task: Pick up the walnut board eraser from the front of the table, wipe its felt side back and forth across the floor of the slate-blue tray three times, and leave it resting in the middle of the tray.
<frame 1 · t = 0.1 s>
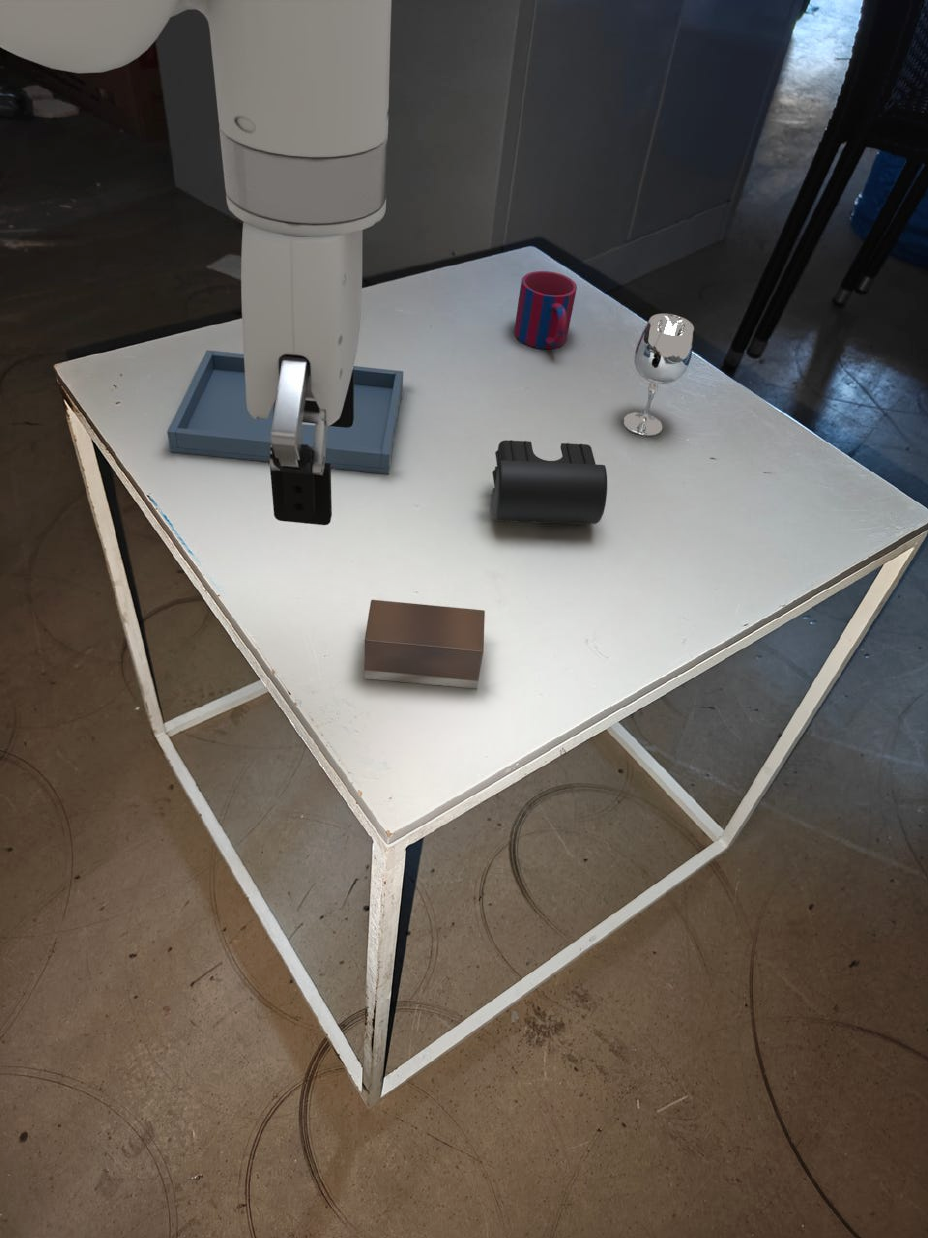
hand: (316, 468, 53), 20 cm above the table, tool pointing down, fingers open, 9 cm apart
wineglass: (642, 425, 97), on the table
eraser: (422, 662, 69), on the table
tray: (294, 418, 91), on the table
end cap: (539, 517, 84), on the table
mug: (542, 343, 107), on the table
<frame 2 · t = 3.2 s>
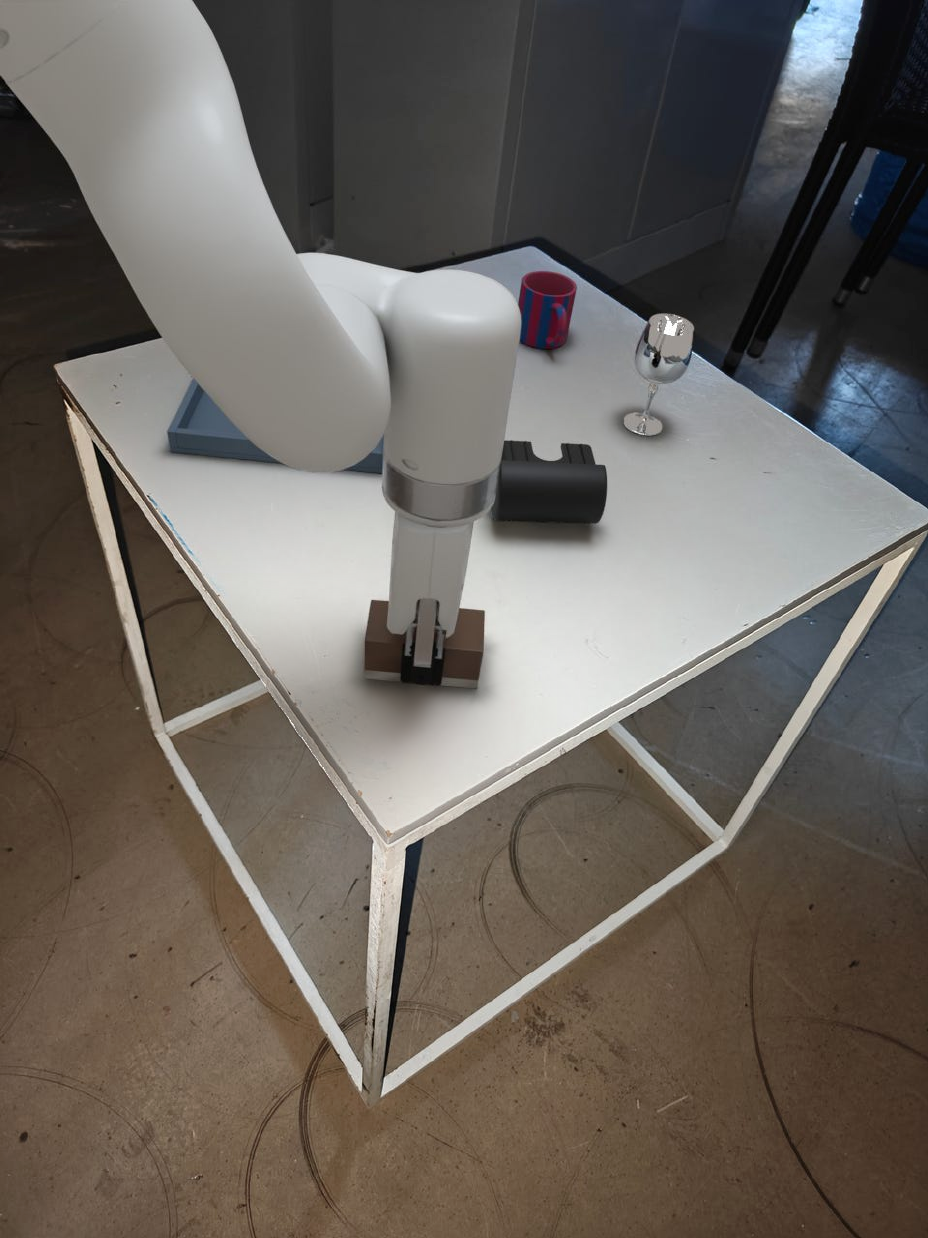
hand: (423, 655, 69), 1 cm above the table, tool pointing down, fingers closed on eraser, 4 cm apart
eraser: (422, 662, 69), on the table, touching gripper
everything else where it was.
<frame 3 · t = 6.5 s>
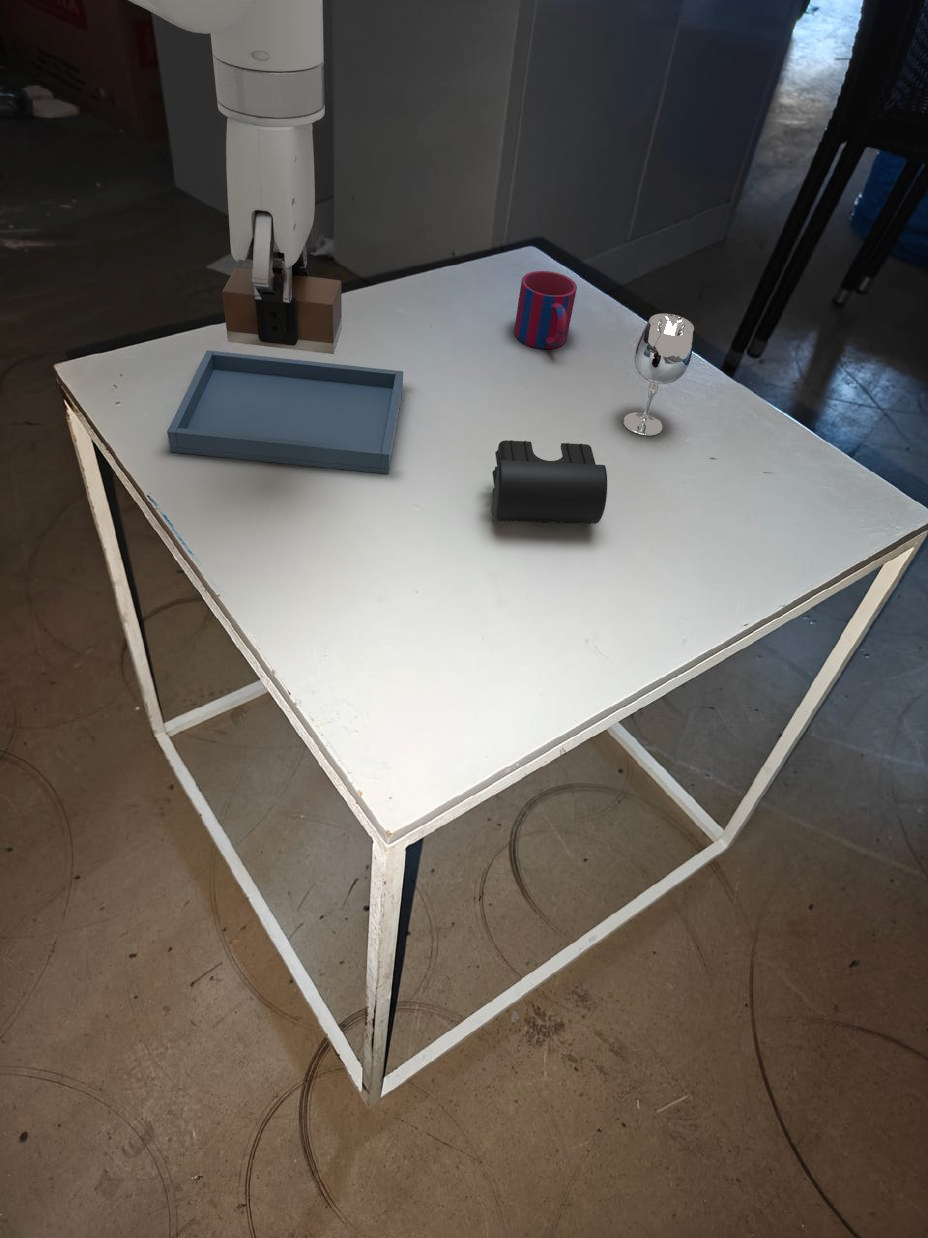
hand: (284, 324, 74), 15 cm above the table, tool pointing down, fingers closed on eraser, 4 cm apart
eraser: (286, 335, 74), point 14 cm above the table, touching gripper
everything else where it was.
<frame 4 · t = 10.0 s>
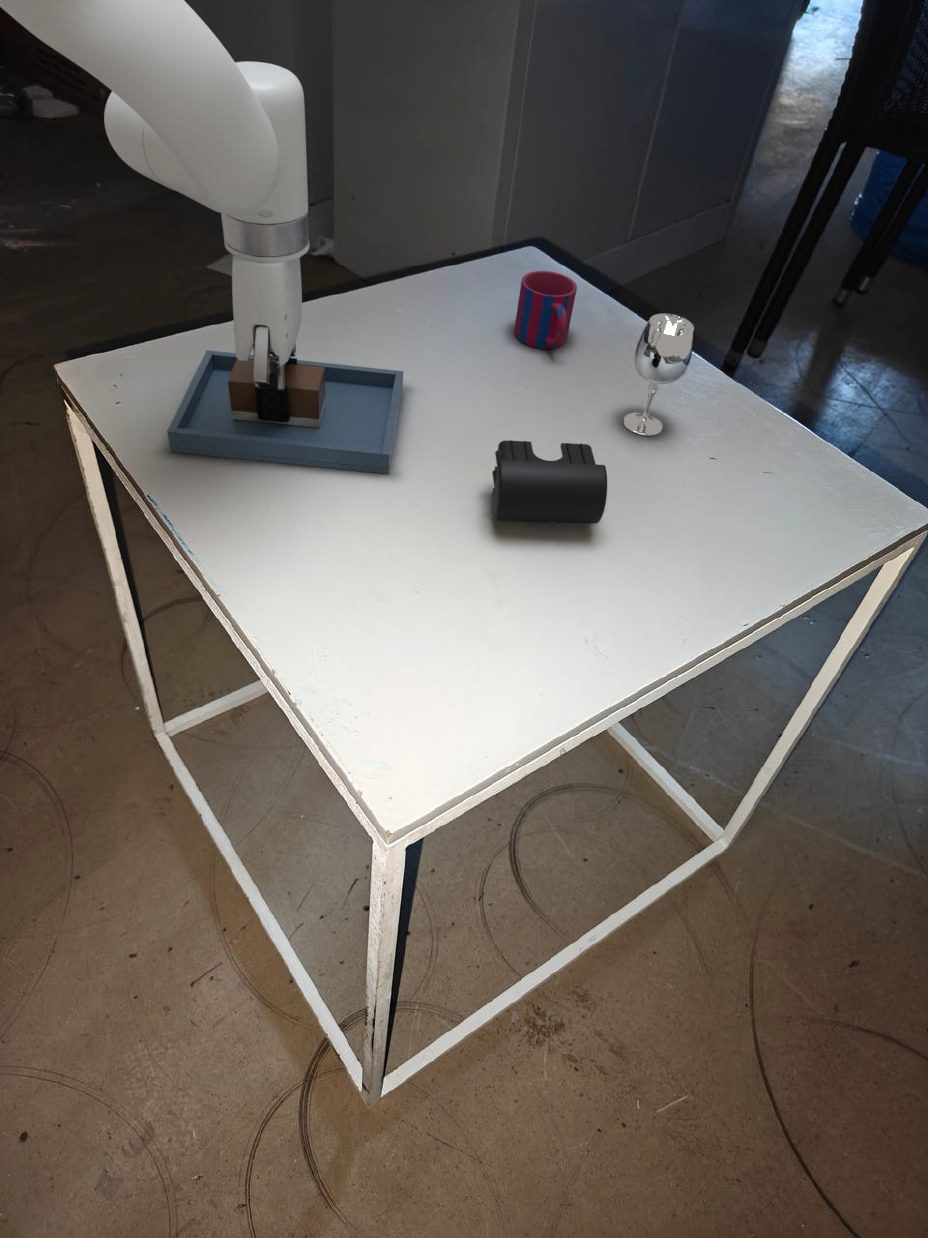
hand: (278, 403, 89), 2 cm above the table, tool pointing down, fingers closed on eraser, 4 cm apart
eraser: (279, 411, 90), point 1 cm above the table, touching gripper
everything else where it was.
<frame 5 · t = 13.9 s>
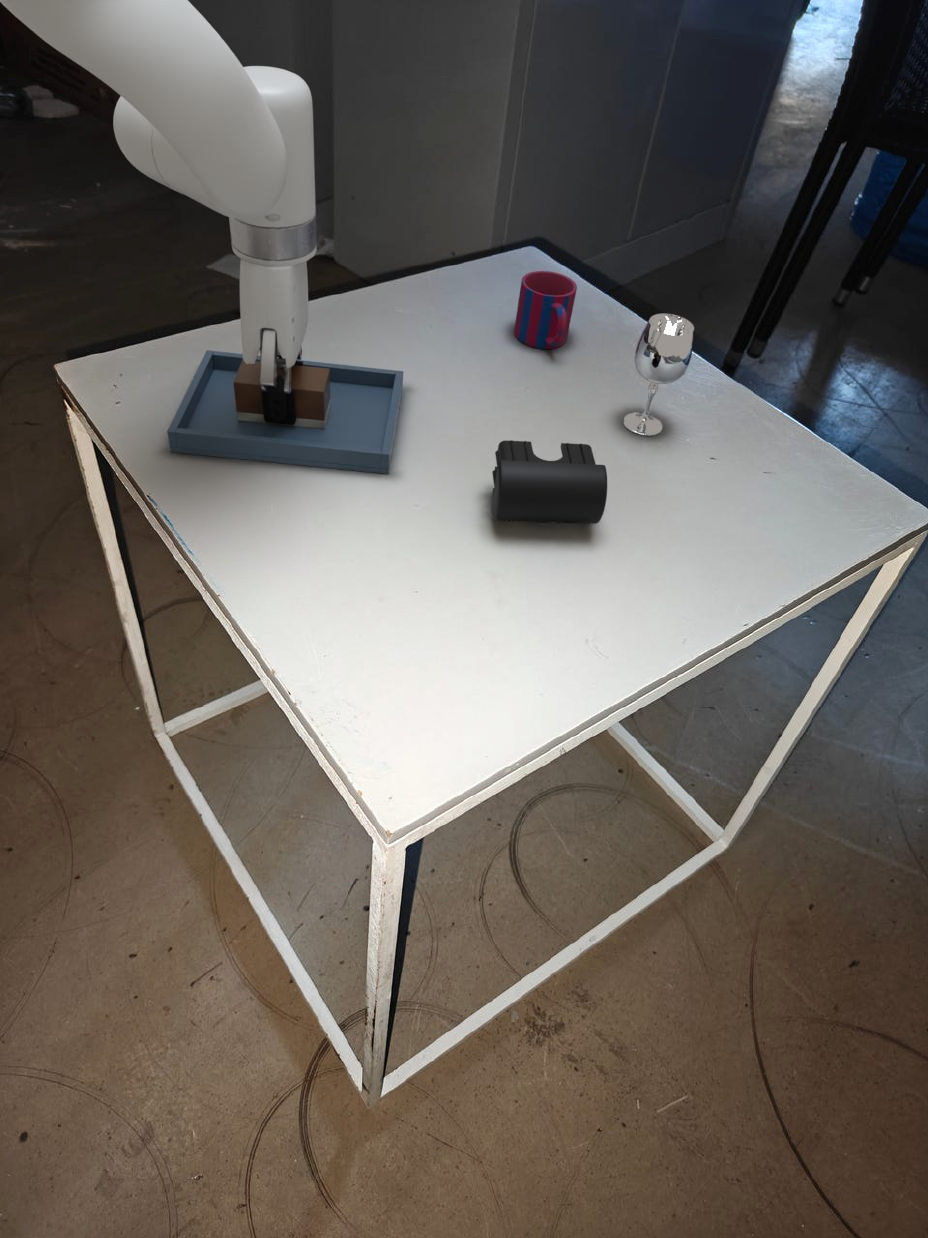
hand: (284, 406, 90), 1 cm above the table, tool pointing down, fingers closed on eraser, 4 cm apart
eraser: (284, 413, 90), point 1 cm above the table, touching gripper
everything else where it was.
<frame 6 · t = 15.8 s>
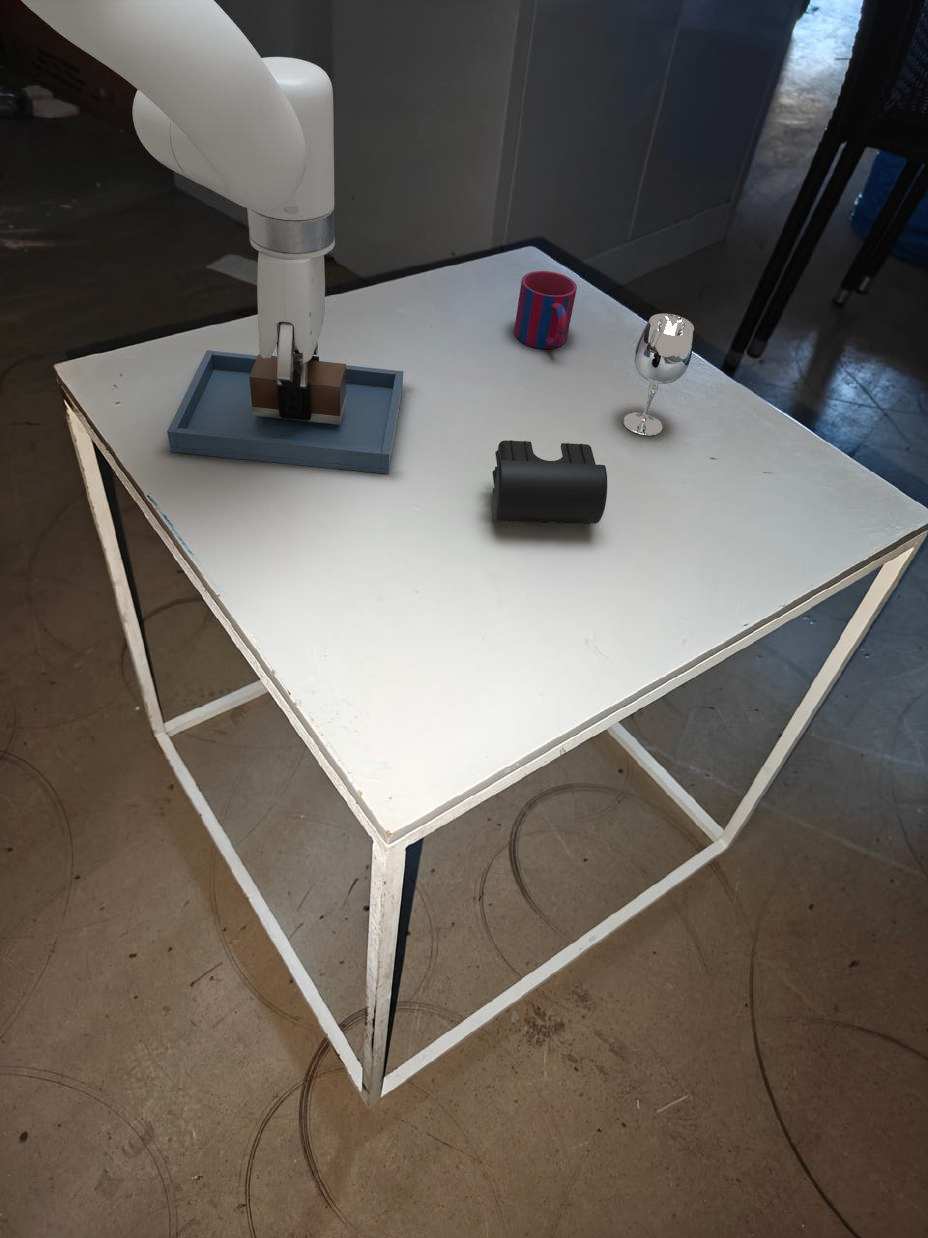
hand: (300, 401, 89), 2 cm above the table, tool pointing down, fingers closed on eraser, 4 cm apart
eraser: (300, 408, 90), point 1 cm above the table, touching gripper
everything else where it was.
when the fingers open (1 cm above the table, at t = 16.9 s): eraser stays where it is, resting on tray.
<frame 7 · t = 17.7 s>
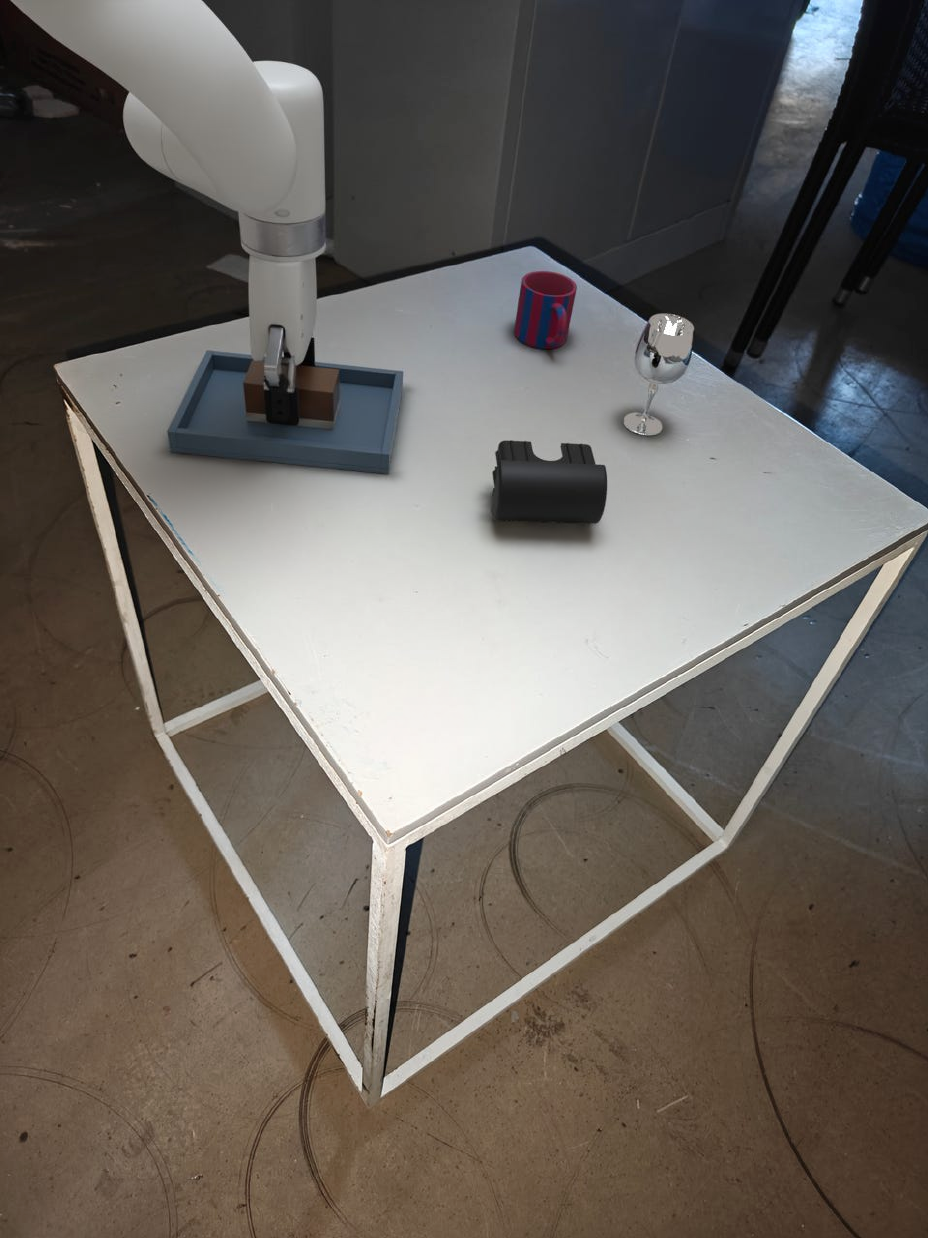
hand: (291, 396, 89), 3 cm above the table, tool pointing down, fingers open, 9 cm apart
eraser: (294, 413, 90), point 1 cm above the table, touching tray
everything else where it was.
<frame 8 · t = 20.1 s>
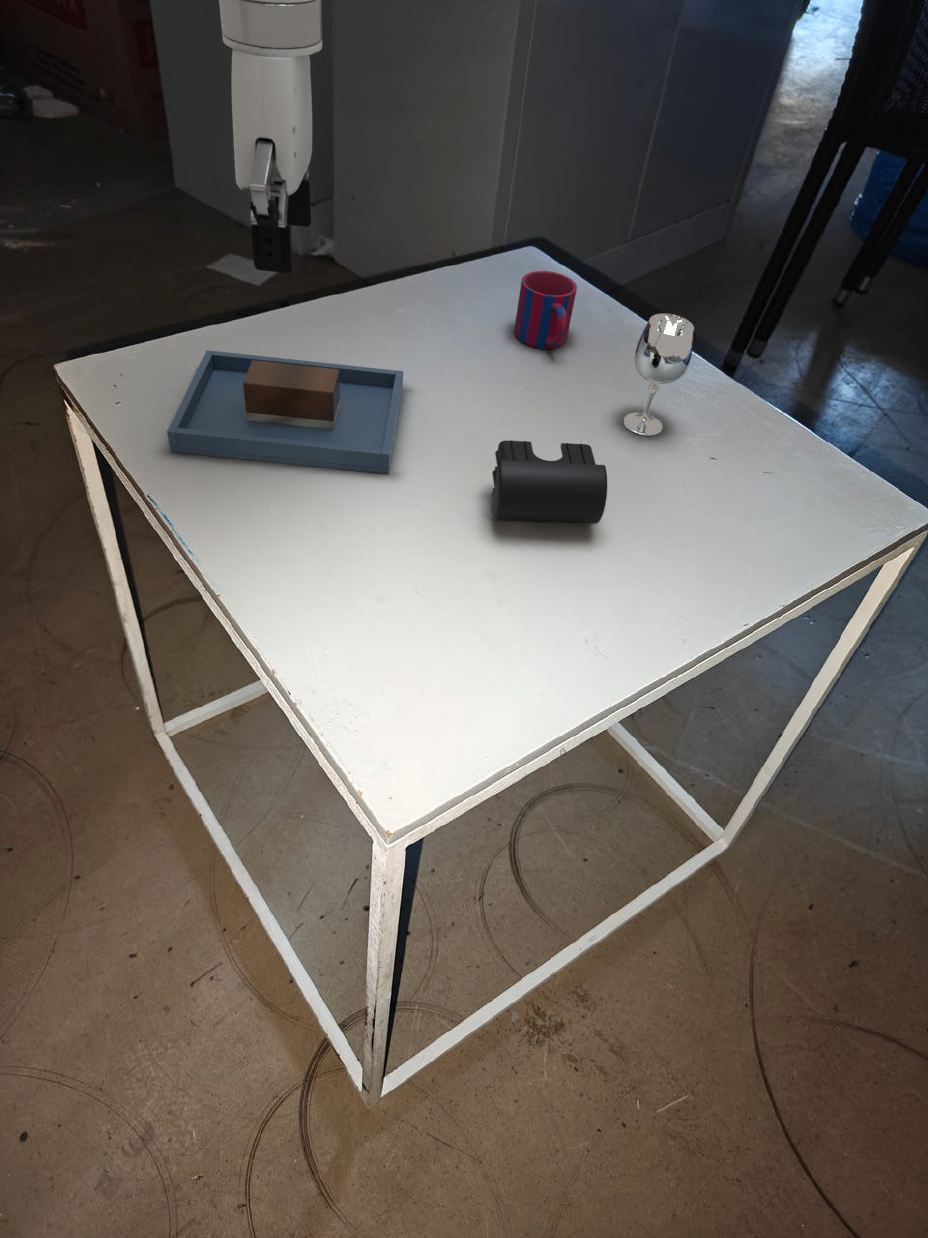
hand: (284, 246, 77), 18 cm above the table, tool pointing down, fingers open, 9 cm apart
nothing on the table moved.
at the end: eraser inside the target area in the tray (0.1 cm from its centre), point 0.6 cm above the tray's base; eraser tilted 0°; the gripper is holding nothing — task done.
